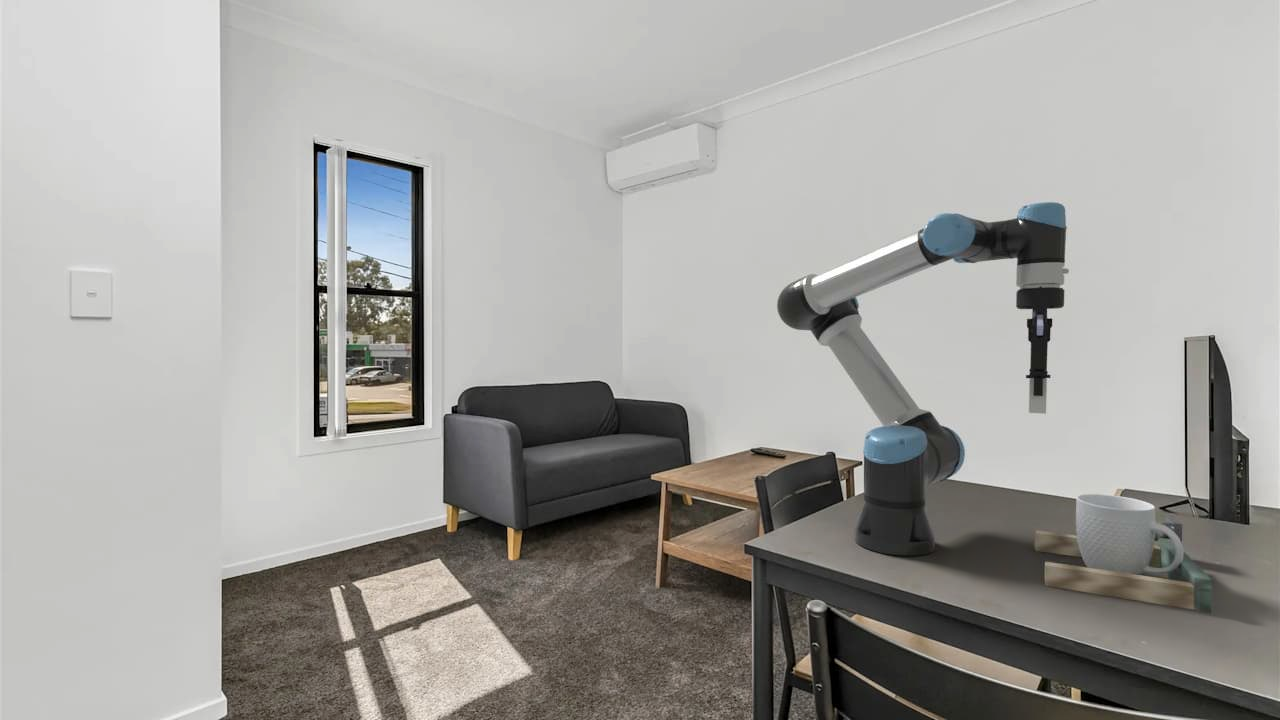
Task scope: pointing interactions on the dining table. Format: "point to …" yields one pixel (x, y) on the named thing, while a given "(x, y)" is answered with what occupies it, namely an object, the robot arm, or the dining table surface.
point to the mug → (1120, 534)
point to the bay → (1129, 575)
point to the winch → (1171, 524)
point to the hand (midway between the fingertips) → (1037, 412)
